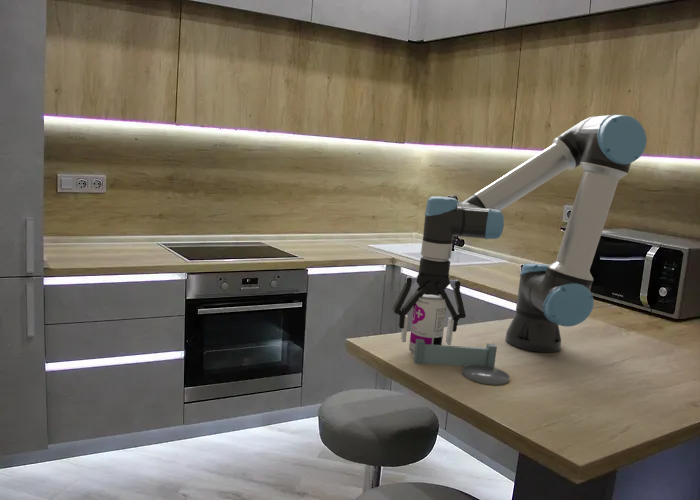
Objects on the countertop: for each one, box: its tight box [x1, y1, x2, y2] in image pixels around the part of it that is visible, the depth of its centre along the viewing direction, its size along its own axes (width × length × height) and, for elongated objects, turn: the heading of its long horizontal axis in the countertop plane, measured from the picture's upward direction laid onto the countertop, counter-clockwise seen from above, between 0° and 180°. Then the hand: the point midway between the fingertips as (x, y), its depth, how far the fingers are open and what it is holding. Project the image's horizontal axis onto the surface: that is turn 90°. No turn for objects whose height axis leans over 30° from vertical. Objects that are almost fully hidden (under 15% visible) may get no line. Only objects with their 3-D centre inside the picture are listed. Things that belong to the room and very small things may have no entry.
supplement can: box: [408, 293, 447, 355], centre depth 164 cm, size 8×8×15 cm
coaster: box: [461, 365, 510, 386], centre depth 153 cm, size 11×11×1 cm
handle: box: [413, 339, 498, 368], centre depth 159 cm, size 20×2×6 cm, turn 95°
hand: (425, 341), depth 165 cm, fingers open, 11 cm apart
